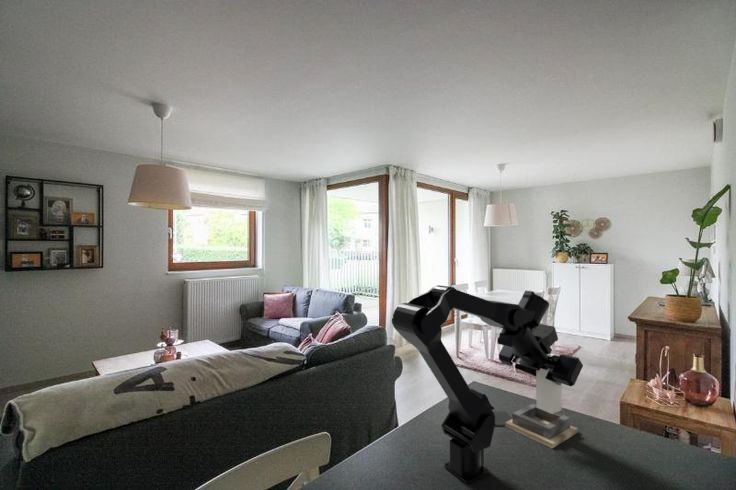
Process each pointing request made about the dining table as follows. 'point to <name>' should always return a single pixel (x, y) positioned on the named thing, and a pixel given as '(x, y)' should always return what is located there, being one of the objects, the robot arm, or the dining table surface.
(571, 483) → the dining table surface
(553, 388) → the block
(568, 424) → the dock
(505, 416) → the smartphone
